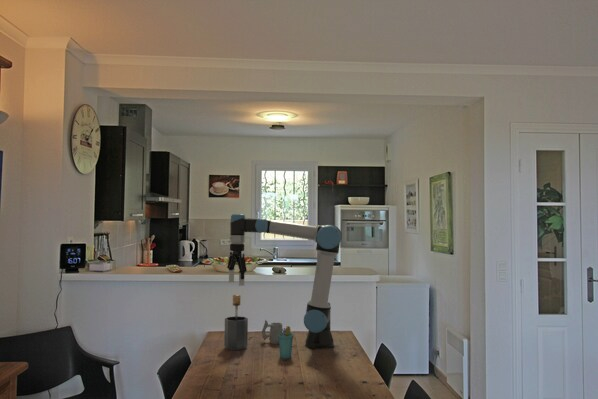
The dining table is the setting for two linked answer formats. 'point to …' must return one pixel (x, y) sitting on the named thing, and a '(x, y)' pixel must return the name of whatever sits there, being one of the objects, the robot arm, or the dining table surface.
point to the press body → (236, 333)
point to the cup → (285, 343)
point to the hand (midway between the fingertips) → (236, 283)
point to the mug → (272, 331)
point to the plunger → (236, 304)
